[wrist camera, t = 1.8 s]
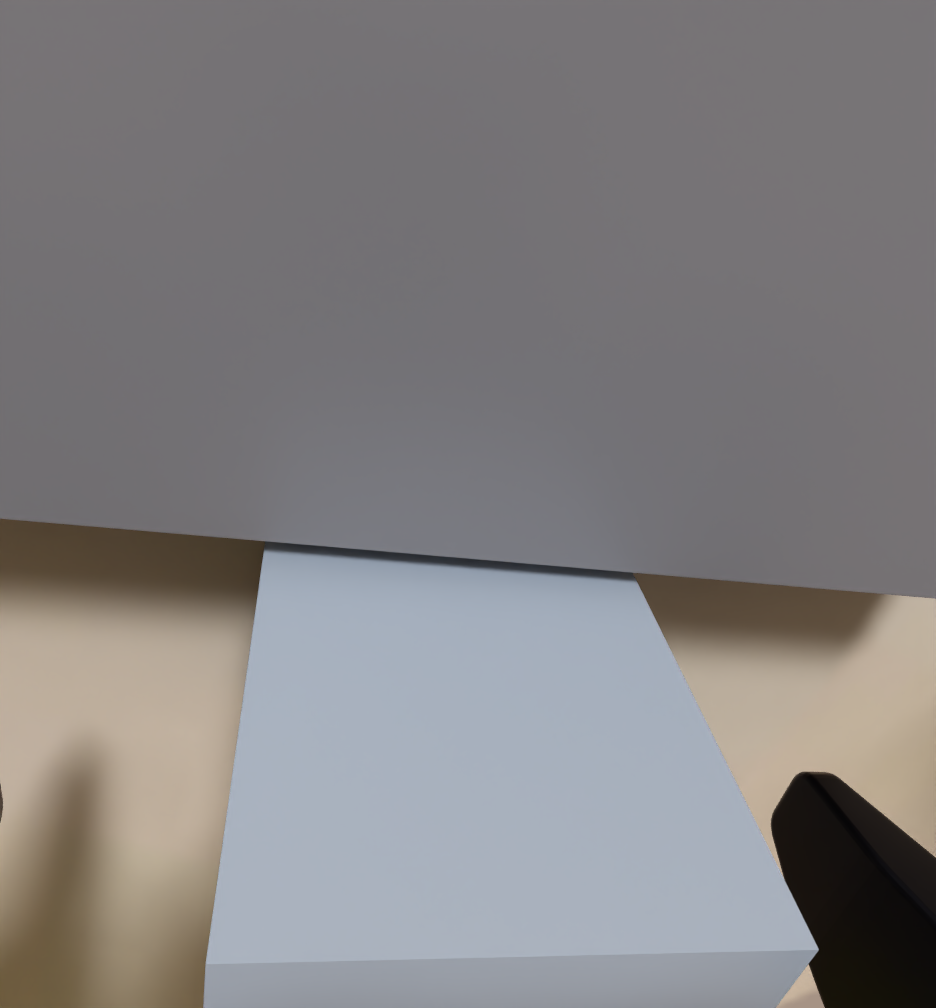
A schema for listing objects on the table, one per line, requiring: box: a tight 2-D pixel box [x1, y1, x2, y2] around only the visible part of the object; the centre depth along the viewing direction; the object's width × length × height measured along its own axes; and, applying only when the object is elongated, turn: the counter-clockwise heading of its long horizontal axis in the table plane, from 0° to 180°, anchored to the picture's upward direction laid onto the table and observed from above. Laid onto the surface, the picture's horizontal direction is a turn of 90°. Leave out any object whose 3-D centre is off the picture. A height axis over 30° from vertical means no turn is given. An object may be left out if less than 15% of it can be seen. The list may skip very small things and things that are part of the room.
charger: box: [203, 541, 819, 1008], centre depth 9 cm, size 4×5×6 cm
